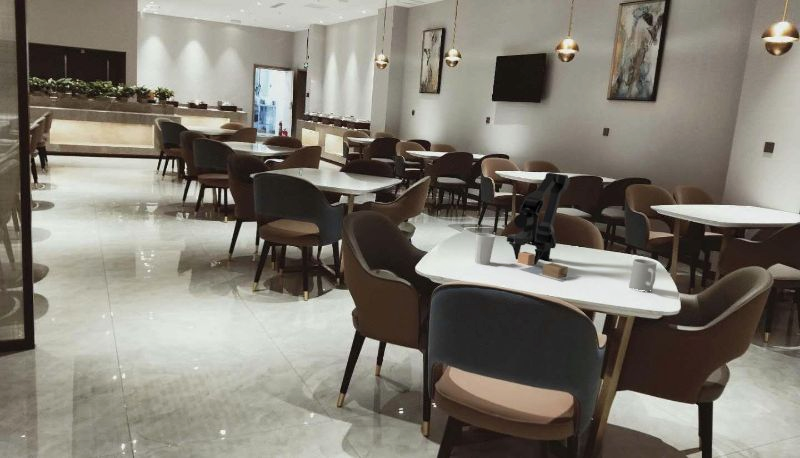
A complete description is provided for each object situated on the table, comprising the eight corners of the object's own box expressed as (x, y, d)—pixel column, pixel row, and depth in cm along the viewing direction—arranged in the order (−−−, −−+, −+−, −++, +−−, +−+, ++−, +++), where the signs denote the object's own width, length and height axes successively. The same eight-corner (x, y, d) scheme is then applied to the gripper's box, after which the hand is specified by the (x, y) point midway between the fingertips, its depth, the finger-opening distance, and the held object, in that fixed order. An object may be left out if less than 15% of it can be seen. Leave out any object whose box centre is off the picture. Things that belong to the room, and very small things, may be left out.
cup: (491, 266, 251) (494, 237, 249) (472, 263, 253) (475, 235, 251) (492, 261, 259) (495, 234, 257) (473, 259, 260) (476, 232, 258)
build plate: (539, 266, 259) (539, 265, 258) (582, 278, 245) (582, 276, 245) (518, 271, 247) (518, 269, 247) (561, 283, 234) (562, 281, 233)
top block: (523, 262, 263) (525, 251, 262) (533, 265, 260) (535, 254, 259) (517, 264, 260) (518, 252, 259) (527, 266, 256) (528, 255, 255)
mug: (624, 285, 240) (629, 258, 238) (644, 286, 242) (649, 259, 240) (640, 294, 229) (645, 266, 227) (661, 295, 230) (666, 267, 228)
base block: (551, 272, 247) (552, 262, 247) (566, 276, 243) (567, 266, 242) (541, 274, 242) (543, 264, 242) (557, 278, 238) (558, 268, 237)
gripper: (501, 223, 257) (496, 258, 260) (539, 231, 245) (534, 269, 248) (516, 221, 265) (511, 256, 268) (553, 229, 253) (548, 266, 255)
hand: (525, 261), depth 260 cm, fingers open, 9 cm apart
